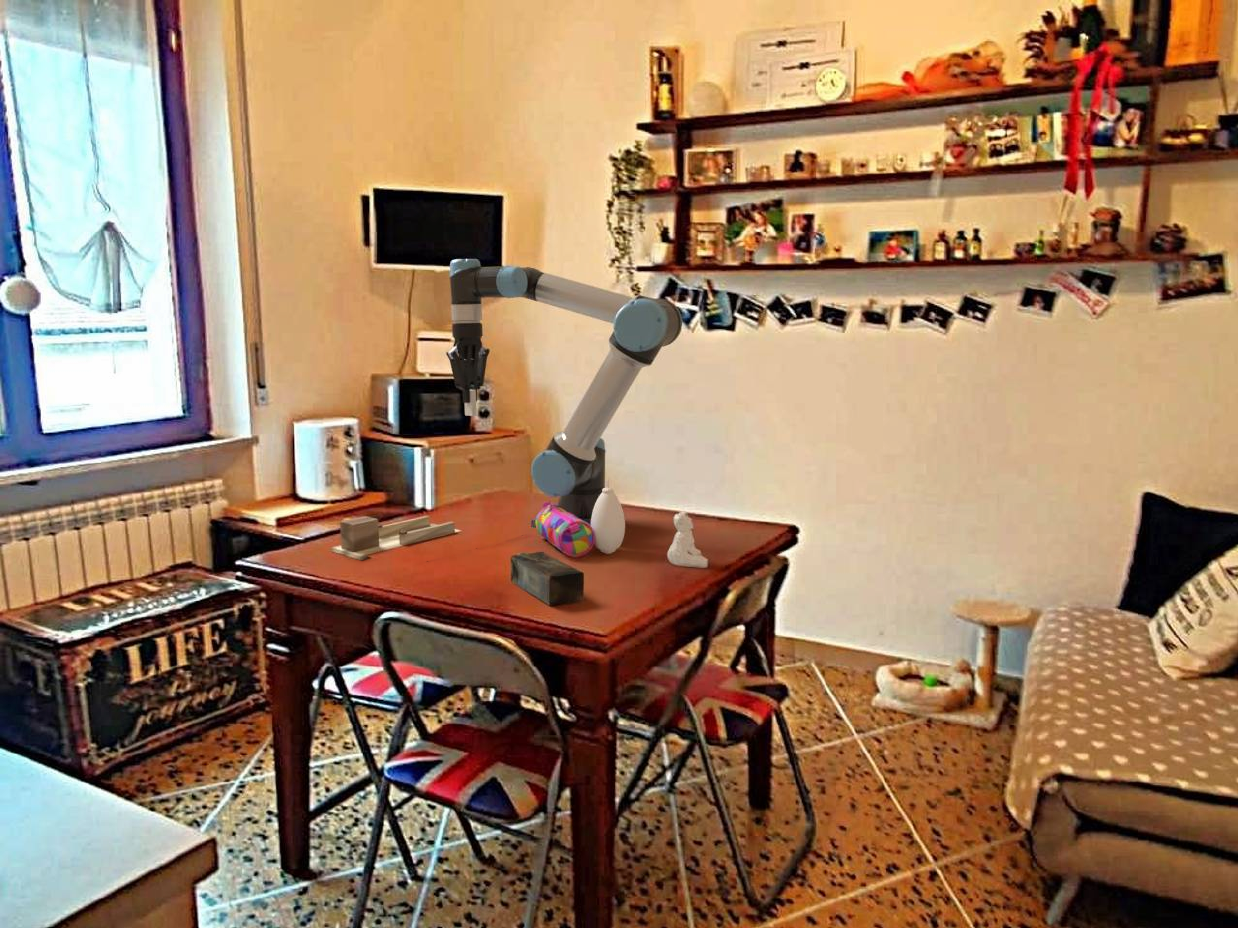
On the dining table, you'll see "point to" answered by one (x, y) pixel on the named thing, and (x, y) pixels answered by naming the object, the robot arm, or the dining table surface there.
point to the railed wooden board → (402, 535)
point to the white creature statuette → (685, 544)
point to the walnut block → (359, 534)
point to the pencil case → (564, 530)
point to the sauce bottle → (608, 521)
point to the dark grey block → (547, 578)
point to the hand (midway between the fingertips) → (470, 415)
